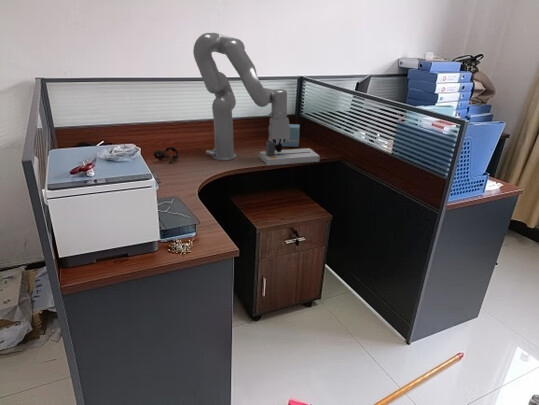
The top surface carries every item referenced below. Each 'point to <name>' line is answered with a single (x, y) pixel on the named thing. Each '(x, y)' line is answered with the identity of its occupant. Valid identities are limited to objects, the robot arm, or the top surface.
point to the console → (290, 156)
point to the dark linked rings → (166, 154)
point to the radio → (292, 136)
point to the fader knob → (270, 148)
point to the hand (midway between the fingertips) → (278, 151)
